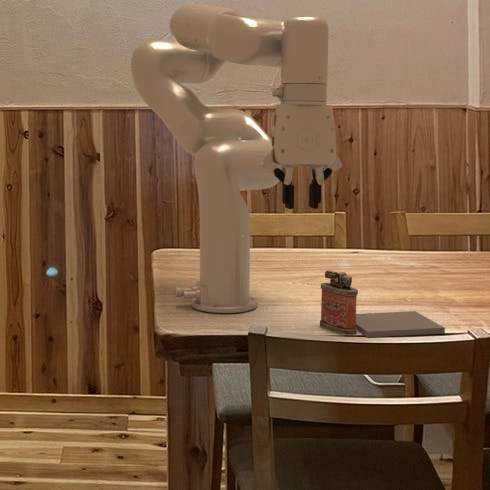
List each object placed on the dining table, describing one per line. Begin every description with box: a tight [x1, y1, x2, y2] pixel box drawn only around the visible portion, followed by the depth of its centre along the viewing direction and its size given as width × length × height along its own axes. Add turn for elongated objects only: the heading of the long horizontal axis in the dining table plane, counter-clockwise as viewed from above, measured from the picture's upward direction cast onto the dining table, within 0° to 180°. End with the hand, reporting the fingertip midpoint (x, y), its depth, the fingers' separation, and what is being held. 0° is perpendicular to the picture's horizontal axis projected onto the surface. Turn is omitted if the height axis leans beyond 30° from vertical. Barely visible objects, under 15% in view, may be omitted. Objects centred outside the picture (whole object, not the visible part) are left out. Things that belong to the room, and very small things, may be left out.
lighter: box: [319, 269, 359, 336], centre depth 137 cm, size 8×3×10 cm, turn 35°
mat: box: [356, 310, 446, 338], centre depth 140 cm, size 14×12×1 cm
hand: (301, 207), depth 133 cm, fingers open, 3 cm apart
